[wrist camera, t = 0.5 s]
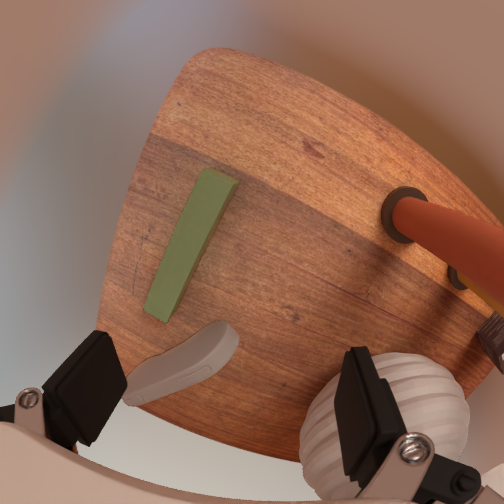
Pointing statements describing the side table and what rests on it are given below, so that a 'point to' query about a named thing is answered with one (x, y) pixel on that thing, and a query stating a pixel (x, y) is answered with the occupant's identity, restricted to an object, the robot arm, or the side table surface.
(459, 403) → the table lamp
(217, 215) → the green bar
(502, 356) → the box
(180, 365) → the grey flat slab
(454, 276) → the ochre rod
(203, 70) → the side table surface
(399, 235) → the terracotta rod
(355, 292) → the side table surface
